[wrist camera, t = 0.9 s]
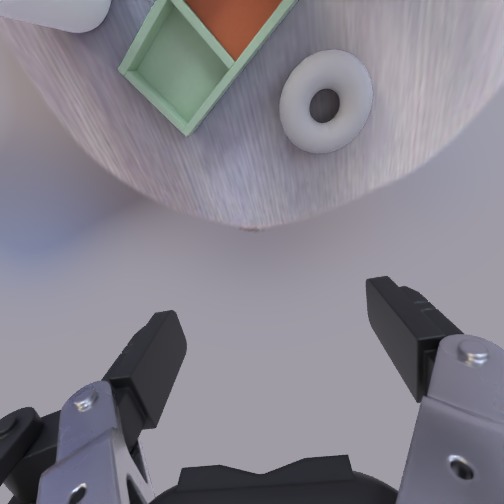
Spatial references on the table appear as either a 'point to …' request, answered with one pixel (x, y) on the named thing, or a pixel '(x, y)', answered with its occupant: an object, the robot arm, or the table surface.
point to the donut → (315, 79)
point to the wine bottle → (58, 13)
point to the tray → (197, 52)
